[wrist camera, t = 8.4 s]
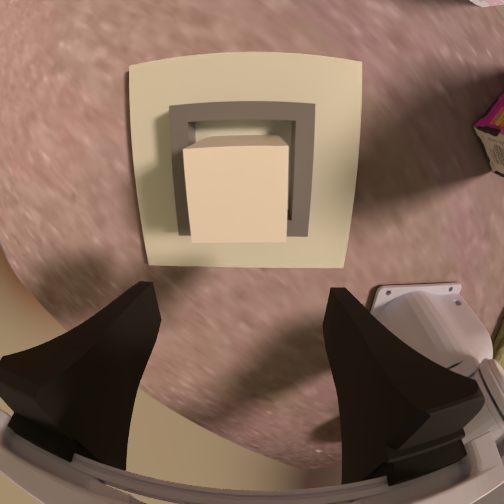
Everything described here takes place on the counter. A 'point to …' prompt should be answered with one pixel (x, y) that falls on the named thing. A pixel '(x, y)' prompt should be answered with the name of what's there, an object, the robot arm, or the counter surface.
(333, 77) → the charging dock
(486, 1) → the beverage cup
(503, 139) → the candy bar box
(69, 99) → the counter surface
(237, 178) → the block
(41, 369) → the robot arm
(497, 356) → the washcloth
